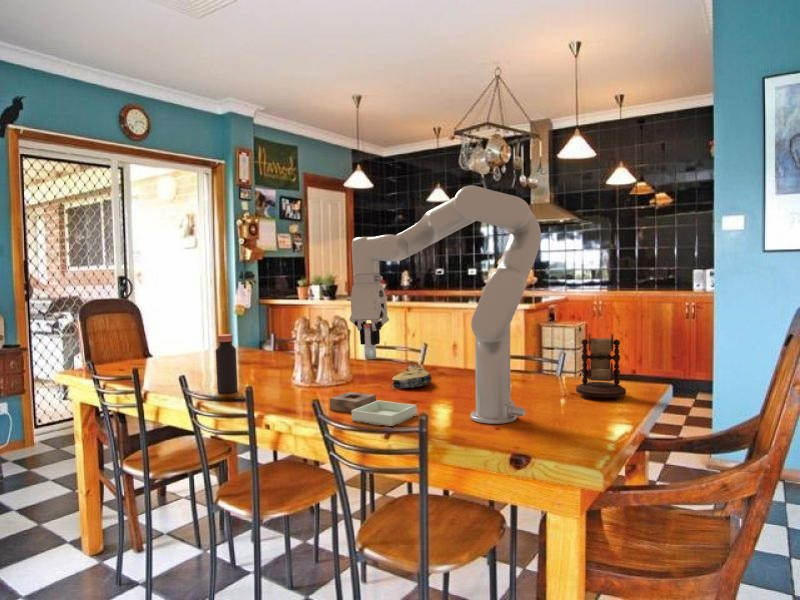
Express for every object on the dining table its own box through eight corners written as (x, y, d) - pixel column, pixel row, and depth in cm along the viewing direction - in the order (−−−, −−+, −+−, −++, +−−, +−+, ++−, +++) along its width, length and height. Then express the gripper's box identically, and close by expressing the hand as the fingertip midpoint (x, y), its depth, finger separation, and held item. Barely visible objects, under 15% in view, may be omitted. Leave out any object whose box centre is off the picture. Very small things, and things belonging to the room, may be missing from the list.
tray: (416, 415, 162) (416, 405, 162) (391, 427, 151) (391, 416, 151) (378, 410, 169) (378, 400, 169) (351, 421, 158) (351, 410, 157)
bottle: (231, 394, 196) (229, 336, 195) (213, 393, 197) (211, 336, 196) (241, 389, 203) (238, 333, 201) (223, 389, 204) (221, 333, 203)
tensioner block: (376, 406, 174) (375, 394, 174) (356, 413, 165) (356, 401, 165) (350, 402, 179) (349, 391, 179) (329, 409, 171) (329, 398, 171)
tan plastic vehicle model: (437, 358, 221) (425, 373, 192) (439, 373, 221) (428, 390, 192) (401, 363, 224) (385, 379, 194) (404, 378, 224) (388, 396, 195)
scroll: (624, 392, 184) (624, 330, 183) (627, 403, 170) (627, 336, 169) (576, 390, 189) (576, 330, 188) (576, 400, 175) (575, 335, 174)
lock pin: (378, 357, 165) (376, 323, 164) (372, 359, 162) (370, 324, 161) (369, 357, 166) (367, 323, 166) (363, 358, 164) (361, 324, 163)
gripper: (397, 278, 162) (401, 343, 162) (352, 280, 171) (355, 341, 172) (382, 280, 155) (386, 346, 156) (336, 281, 164) (339, 345, 165)
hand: (370, 343), depth 164 cm, fingers closed on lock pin, 3 cm apart
